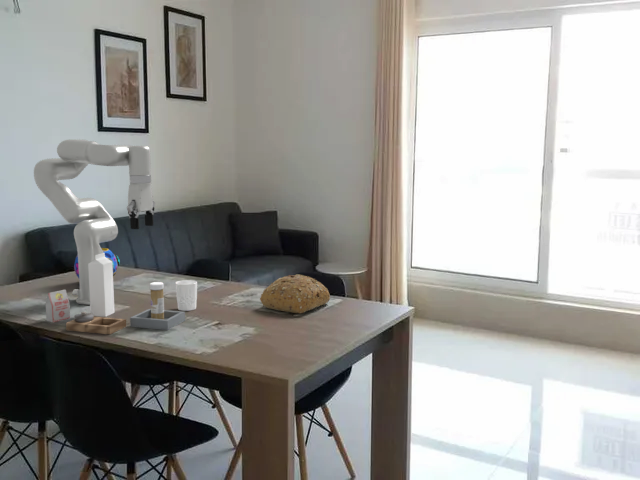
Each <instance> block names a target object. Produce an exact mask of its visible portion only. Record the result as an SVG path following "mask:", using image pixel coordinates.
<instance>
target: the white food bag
mask: <svg viewBox="0 0 640 480" xmlns="http://www.w3.org/2000/svg"><path fill="white" fill-rule="evenodd" d="M70 310H71V306H70V300H69V296H68V293H67V290H66V289H62V290H56V291H51V292H47V297H46V300H45V317H46V318H45V319H46V322H51V323H55V322H60V321H63V320H68V319H71V311H70Z"/></svg>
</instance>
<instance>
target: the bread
mask: <svg viewBox="0 0 640 480" xmlns="http://www.w3.org/2000/svg"><path fill="white" fill-rule="evenodd" d="M330 298H331V296H330V292H329V290H328V288H327V287H326V286H325V285H324V284H323V283H322V282H320V281H318V280H317V279H316V278H313V277H311V276H308V275H304V274H294V275H291V274H288V275H285V276H283V277H279V278H277V279H275V280H274V281H273V282H271V283H270V284H269V285H268V286H267V287H266V288H264V290H263V291H262V292H261V295H260V297H259V300H260V302H261V304H262V305H263V306H264V307H265V308H267V309H270V310H275V311H278V312H286V313H293V314H300V315H301V314H305V312H309V311H312V310H313V309H316V308H318V307H321V306H325V305H327V304H328V303H329V302H330V300H331V299H330Z"/></svg>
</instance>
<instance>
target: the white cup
mask: <svg viewBox="0 0 640 480" xmlns="http://www.w3.org/2000/svg"><path fill="white" fill-rule="evenodd" d="M174 283H175V295H176V302H177V309H178V310H179V311H181V312H188V311H193V310H197V301H198V300H197V299H198V281H197V280H195V279H182V280H177V281H175V282H174ZM178 310H177V311H178Z"/></svg>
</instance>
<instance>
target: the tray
mask: <svg viewBox="0 0 640 480" xmlns="http://www.w3.org/2000/svg"><path fill="white" fill-rule="evenodd" d="M185 321H186V311H182V310H179V311H178V310H166V309H164V319H153V318H151V308H148V309H145V310H143V311H141V312H139V313H137V314H135V315H133V316H130V317H129V323H130V325H129V326H130V328H131V327H133V328H142V329H152V330H153V329H154V330H165V331H166V330H167V331H169V330H171V329H172V328H174V327H176V326H178V325H179V324H181V323H183V322H185Z"/></svg>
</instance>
